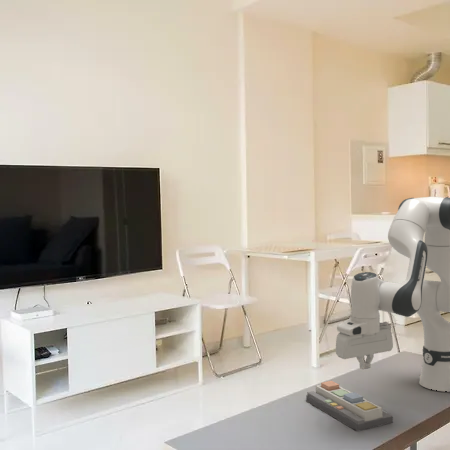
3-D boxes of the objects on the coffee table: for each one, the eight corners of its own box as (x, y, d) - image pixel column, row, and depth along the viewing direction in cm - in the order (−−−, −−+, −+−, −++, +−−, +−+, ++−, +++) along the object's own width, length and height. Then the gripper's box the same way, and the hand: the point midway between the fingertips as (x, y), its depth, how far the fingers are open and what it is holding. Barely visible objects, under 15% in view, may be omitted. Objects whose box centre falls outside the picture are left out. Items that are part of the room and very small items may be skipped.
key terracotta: (331, 387, 189) (331, 380, 189) (339, 391, 185) (339, 384, 185) (321, 389, 187) (321, 382, 187) (328, 393, 183) (328, 386, 183)
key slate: (354, 399, 178) (354, 392, 178) (363, 404, 174) (363, 396, 174) (343, 401, 176) (343, 394, 176) (352, 406, 172) (352, 398, 172)
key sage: (342, 396, 184) (342, 389, 184) (350, 401, 180) (350, 393, 180) (332, 399, 182) (332, 391, 182) (340, 403, 178) (340, 396, 178)
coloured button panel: (339, 394, 193) (339, 380, 193) (392, 422, 169) (392, 406, 169) (306, 400, 187) (306, 386, 187) (357, 431, 163) (357, 415, 163)
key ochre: (366, 409, 173) (366, 401, 172) (376, 414, 169) (376, 406, 169) (355, 412, 171) (355, 404, 171) (365, 417, 167) (365, 409, 167)
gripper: (383, 319, 176) (383, 360, 177) (332, 326, 167) (332, 370, 168) (397, 323, 170) (397, 366, 171) (345, 331, 161) (345, 376, 162)
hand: (365, 368), depth 170 cm, fingers closed
